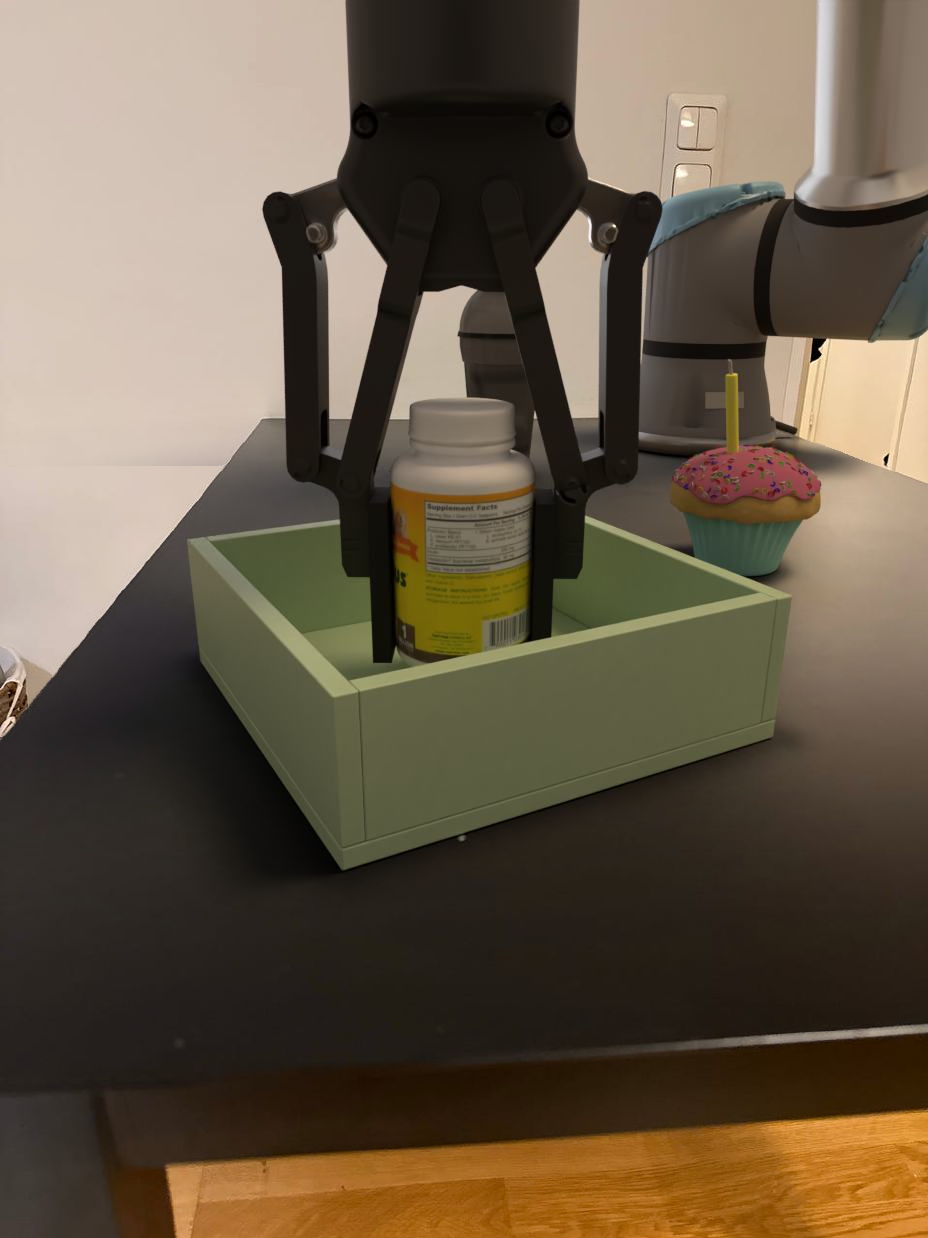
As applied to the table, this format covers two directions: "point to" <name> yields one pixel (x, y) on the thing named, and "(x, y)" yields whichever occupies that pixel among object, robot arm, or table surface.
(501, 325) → the beverage cup
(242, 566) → the tote
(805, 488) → the cupcake
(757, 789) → the table surface
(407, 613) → the supplement bottle
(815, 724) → the table surface
